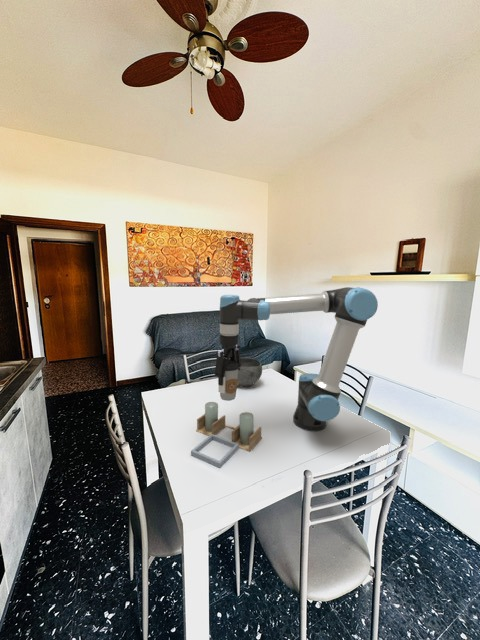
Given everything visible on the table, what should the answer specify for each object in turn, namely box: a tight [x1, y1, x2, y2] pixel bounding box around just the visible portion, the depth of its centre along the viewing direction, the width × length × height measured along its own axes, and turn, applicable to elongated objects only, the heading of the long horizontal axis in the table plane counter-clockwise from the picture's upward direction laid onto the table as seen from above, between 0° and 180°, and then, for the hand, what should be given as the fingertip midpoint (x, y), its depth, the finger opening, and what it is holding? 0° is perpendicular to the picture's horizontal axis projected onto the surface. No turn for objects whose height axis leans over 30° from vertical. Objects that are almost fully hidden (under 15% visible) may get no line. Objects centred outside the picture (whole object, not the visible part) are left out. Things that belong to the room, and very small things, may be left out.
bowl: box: [237, 357, 263, 387], centre depth 167 cm, size 21×21×15 cm
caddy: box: [195, 413, 263, 453], centre depth 111 cm, size 26×11×6 cm, turn 60°
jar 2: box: [239, 411, 255, 445], centre depth 106 cm, size 6×6×11 cm
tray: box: [190, 434, 240, 469], centre depth 100 cm, size 13×13×2 cm
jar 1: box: [204, 401, 219, 432], centre depth 115 cm, size 6×6×11 cm
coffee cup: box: [219, 359, 239, 402], centre depth 107 cm, size 8×8×15 cm
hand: (228, 388), depth 108 cm, fingers closed on coffee cup, 8 cm apart
